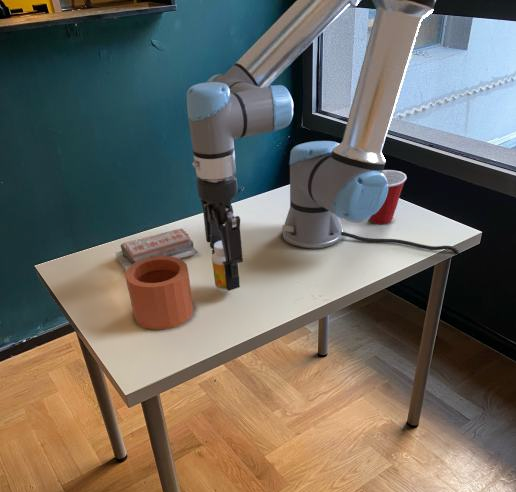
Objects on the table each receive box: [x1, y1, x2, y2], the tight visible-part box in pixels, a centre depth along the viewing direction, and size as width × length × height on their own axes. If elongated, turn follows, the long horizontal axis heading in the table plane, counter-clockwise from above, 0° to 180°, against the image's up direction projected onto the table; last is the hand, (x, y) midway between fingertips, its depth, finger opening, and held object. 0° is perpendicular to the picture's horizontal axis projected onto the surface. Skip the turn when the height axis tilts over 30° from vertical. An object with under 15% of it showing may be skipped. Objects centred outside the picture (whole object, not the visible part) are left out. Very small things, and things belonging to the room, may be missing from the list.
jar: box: [124, 256, 194, 331], centre depth 104 cm, size 12×12×10 cm
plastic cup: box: [369, 169, 408, 225], centre depth 135 cm, size 11×11×12 cm
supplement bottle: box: [211, 240, 241, 292], centre depth 108 cm, size 5×5×10 cm
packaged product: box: [114, 228, 199, 272], centre depth 125 cm, size 18×5×10 cm
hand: (227, 281), depth 111 cm, fingers closed on supplement bottle, 5 cm apart
